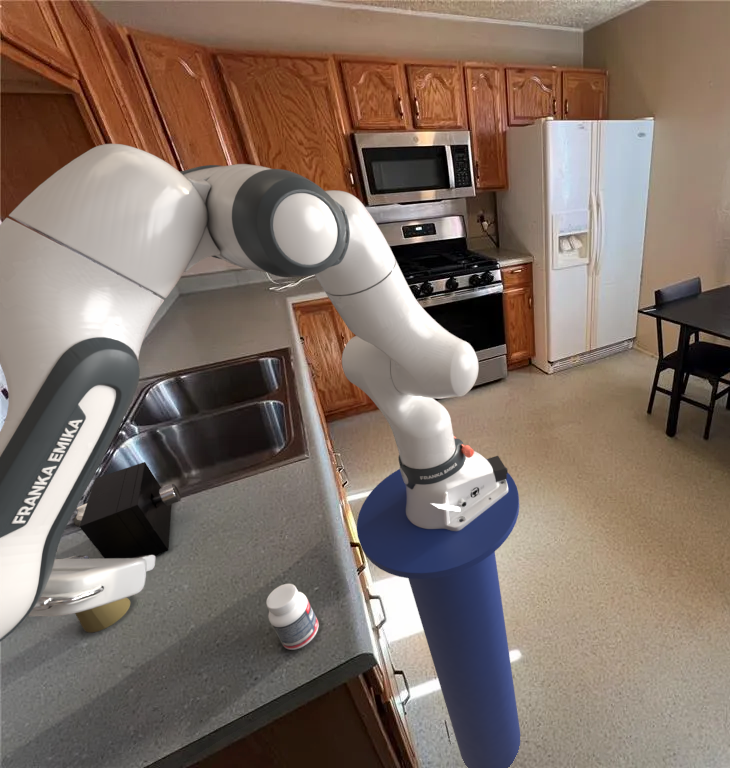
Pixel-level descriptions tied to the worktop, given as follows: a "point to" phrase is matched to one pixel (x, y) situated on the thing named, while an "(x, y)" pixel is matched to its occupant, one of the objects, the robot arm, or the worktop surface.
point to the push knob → (167, 495)
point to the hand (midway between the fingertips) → (116, 561)
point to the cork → (103, 615)
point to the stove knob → (79, 514)
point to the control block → (127, 514)
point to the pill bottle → (291, 616)
